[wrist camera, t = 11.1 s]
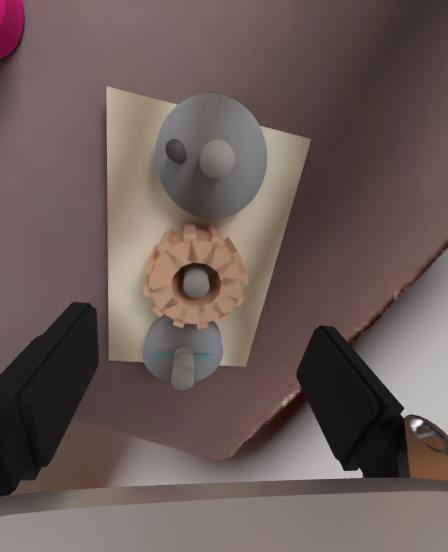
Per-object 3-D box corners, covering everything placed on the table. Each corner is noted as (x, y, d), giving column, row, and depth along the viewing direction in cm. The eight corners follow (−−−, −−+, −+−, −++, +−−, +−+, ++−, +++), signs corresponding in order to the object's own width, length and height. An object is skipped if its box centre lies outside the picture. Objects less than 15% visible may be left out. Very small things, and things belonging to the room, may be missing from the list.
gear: (245, 229, 19) (258, 243, 15) (228, 305, 22) (236, 331, 18) (154, 215, 17) (145, 225, 14) (149, 297, 20) (140, 324, 17)
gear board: (304, 132, 18) (360, 112, 12) (241, 360, 27) (255, 413, 21) (114, 83, 15) (64, 25, 9) (113, 354, 24) (88, 413, 18)
